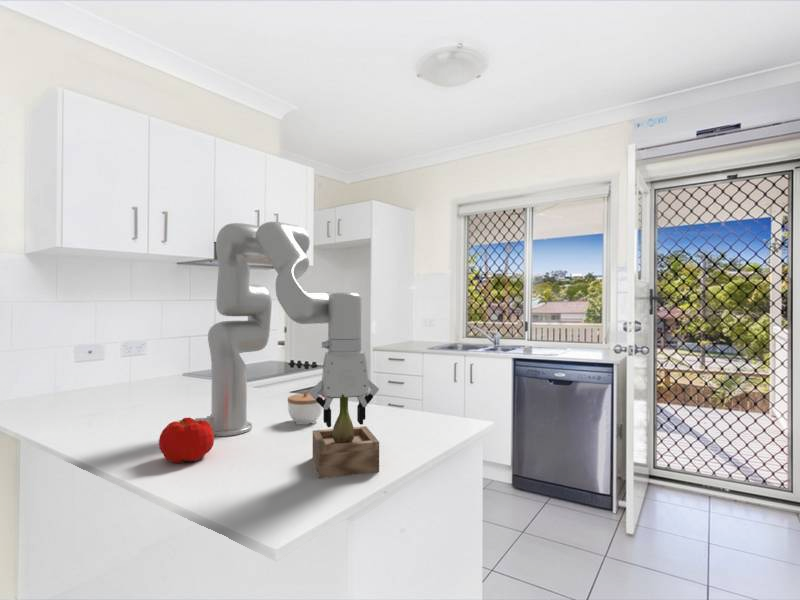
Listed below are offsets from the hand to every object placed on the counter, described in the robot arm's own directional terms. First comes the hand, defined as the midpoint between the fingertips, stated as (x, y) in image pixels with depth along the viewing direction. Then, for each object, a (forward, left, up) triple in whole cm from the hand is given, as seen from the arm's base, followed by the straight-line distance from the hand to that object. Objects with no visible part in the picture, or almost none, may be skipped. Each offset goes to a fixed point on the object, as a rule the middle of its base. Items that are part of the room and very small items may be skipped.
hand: (344, 423), depth 102 cm
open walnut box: (0, 0, -9) cm, 9 cm away
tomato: (-35, +15, -10) cm, 39 cm away
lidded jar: (-5, +40, -9) cm, 41 cm away
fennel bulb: (0, 0, -4) cm, 5 cm away
